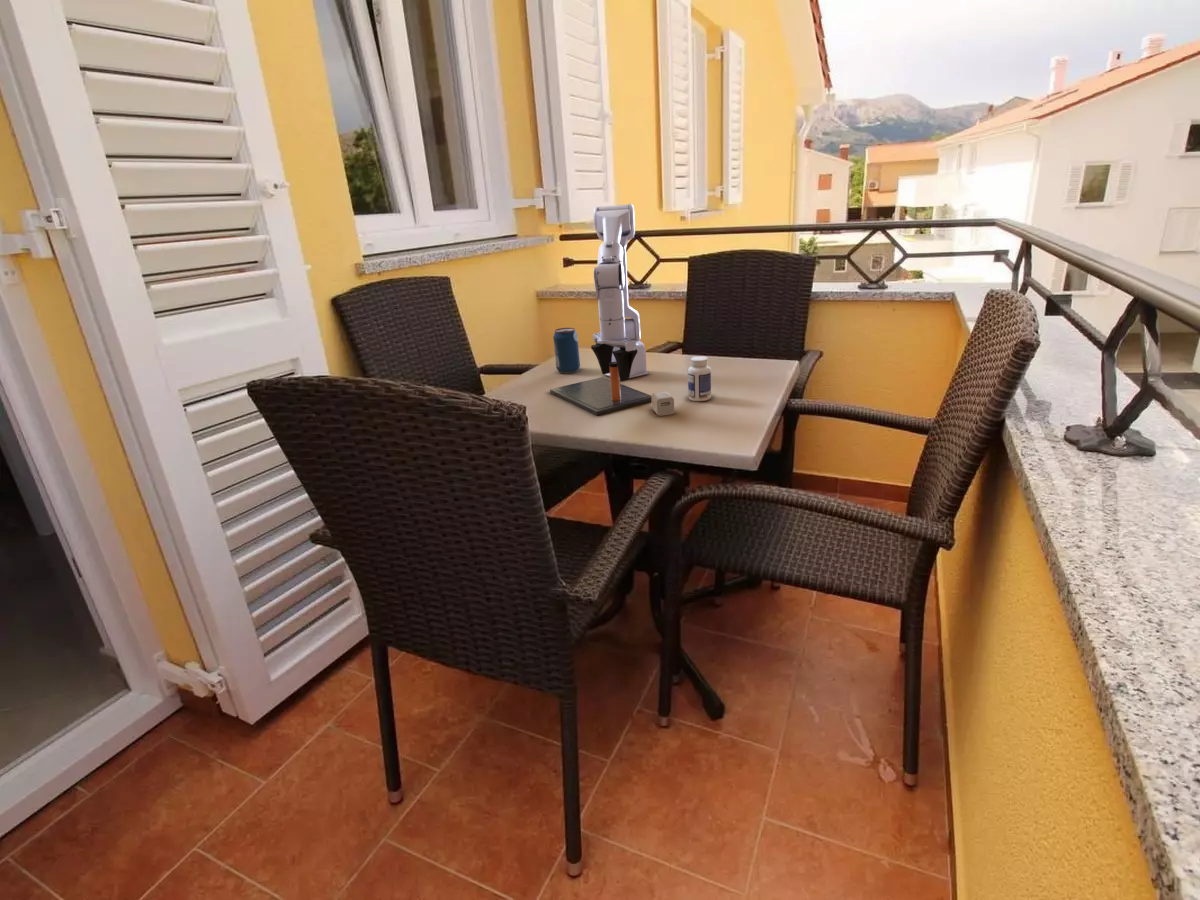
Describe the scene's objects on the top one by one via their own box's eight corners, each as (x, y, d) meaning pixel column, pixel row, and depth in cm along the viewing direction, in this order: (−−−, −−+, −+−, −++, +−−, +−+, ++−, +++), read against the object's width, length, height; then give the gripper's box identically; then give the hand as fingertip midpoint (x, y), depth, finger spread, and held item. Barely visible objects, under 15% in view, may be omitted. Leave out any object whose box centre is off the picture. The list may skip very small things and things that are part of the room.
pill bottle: (712, 395, 151) (712, 355, 147) (709, 402, 146) (708, 361, 142) (690, 394, 152) (690, 355, 149) (686, 401, 148) (685, 361, 144)
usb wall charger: (657, 416, 140) (656, 399, 138) (648, 407, 146) (648, 390, 144) (674, 413, 140) (673, 396, 139) (665, 404, 147) (664, 388, 145)
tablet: (602, 380, 169) (602, 376, 169) (654, 400, 150) (654, 396, 150) (550, 392, 162) (549, 388, 162) (597, 415, 143) (596, 411, 142)
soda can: (585, 368, 182) (581, 327, 178) (571, 374, 177) (567, 332, 173) (565, 366, 186) (561, 326, 181) (551, 372, 181) (547, 331, 176)
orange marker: (615, 397, 151) (612, 361, 147) (622, 398, 150) (620, 362, 146) (609, 400, 149) (607, 363, 146) (617, 401, 148) (615, 364, 144)
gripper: (580, 317, 146) (585, 374, 151) (614, 325, 134) (618, 386, 139) (605, 312, 149) (609, 368, 154) (641, 320, 138) (644, 379, 143)
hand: (615, 376), depth 147 cm, fingers open, 7 cm apart
